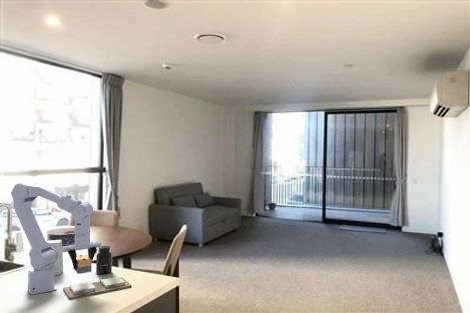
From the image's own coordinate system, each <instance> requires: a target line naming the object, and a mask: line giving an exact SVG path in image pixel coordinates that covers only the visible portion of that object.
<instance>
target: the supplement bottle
mask: <svg viewBox="0 0 470 313" xmlns="http://www.w3.org/2000/svg"><path fill="white" fill-rule="evenodd" d="M112 253H113V252H111V247H110V245H102V247H101V248H99V247H98V252H97V253H96V255H95V256H96V263H95V270H96V271H95V273H96V274H97V275H100V276H104V275H105V276H106V275H110V274H111V273H112V269H113V254H112Z"/></svg>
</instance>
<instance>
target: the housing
mask: <svg viewBox="0 0 470 313" xmlns="http://www.w3.org/2000/svg"><path fill="white" fill-rule="evenodd" d="M92 265H93V261H92V259H91V258H90V257H89V256H88V254H79V255H77V257H76V269H74V268H73V270H74V272H76V273H77V275H80V274H86V273H92Z"/></svg>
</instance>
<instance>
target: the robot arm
mask: <svg viewBox="0 0 470 313" xmlns="http://www.w3.org/2000/svg"><path fill="white" fill-rule="evenodd" d="M10 195H11V198H12V199H13V209H14V211H15V213H16V216H17V219H18V221H19V223H20V225H21V228H22V229H23V232H24V234H25V235H26V238H27V241H28V243H29V245H30V248H31V249H30V251H29V252H28V256H29V260H30V261H29V262H30V266H31V267H32V269H28V272H27V273H28V274H27V278H28V280H27V290H28V292H29V294H30V295H36V294H42V293H46V292H52V291H57V290H58V288H57V287H56V284H55V275H54V265H55V262H56V261H57V259H58V253H57V251H56V250H55V249H54V248H53V247H52V245H51V244H50V243H48V242H46V241H47V240H46V239H45V236H44V234H43V232H42V230H41V227H40V226H39V224H38V221H37V219H36V216H35V214H34V212H33V210H32V208H31V206H32V204H33V203H34V202H35V200H36V199H37V198H38V197H39V198H43V199H44V200H45V199H46V200H48V201H50V202H53V203H54V204H56V205H57V207H58V208H59V209H61V210H63V211H64V212H67V213H69V214H71V215H72V217H73V219H74V243H73V244H69V245H65V246H64V245H62V253H68V256H69V257H70V260H71V262H72V263H71V264H72V267H73V268H74V269H76V257H77V256H78V254H77V251H81V250H87V255H88V256H89V257H90V258H91V259H92V262H93V260H94V257H95V256H96V255H97V253H98V252H97V251H98V249H99V248H101V247H102V246H103V245H102V242H101V241H93V242H92V241H91V216H92V214H93V213H94V212H93V211H94V207H93V205H92V204H91V203H90V202H88V201H85V202H82V200H81V199H76V198H74V197H72V194H63V195H61V194H59V193H57V192H55V191H53V190H52V189H49V188H48V187H46V186H44V185H43V184H42V183H39V182H37V181H31V182H25V183H24V182H22V183H17V184H14V186H13V187H12V190H11V192H10ZM97 248H98V249H97ZM41 251H42V252H41ZM74 269H73V270H74Z"/></svg>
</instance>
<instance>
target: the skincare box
mask: <svg viewBox="0 0 470 313" xmlns="http://www.w3.org/2000/svg"><path fill="white" fill-rule="evenodd" d="M45 241H46V242H48V243H50V244H51V245H52V247H53V248H54V249H55V250H56V251H57V253H58V259H57V261H56V262H55V265H54V276H55V275H61V274H62V273H63V272H64V258H63V253H64V252H62V247H63V240H62V239H54V240H51V239H50V240H45ZM41 252H42V251H41Z"/></svg>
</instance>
